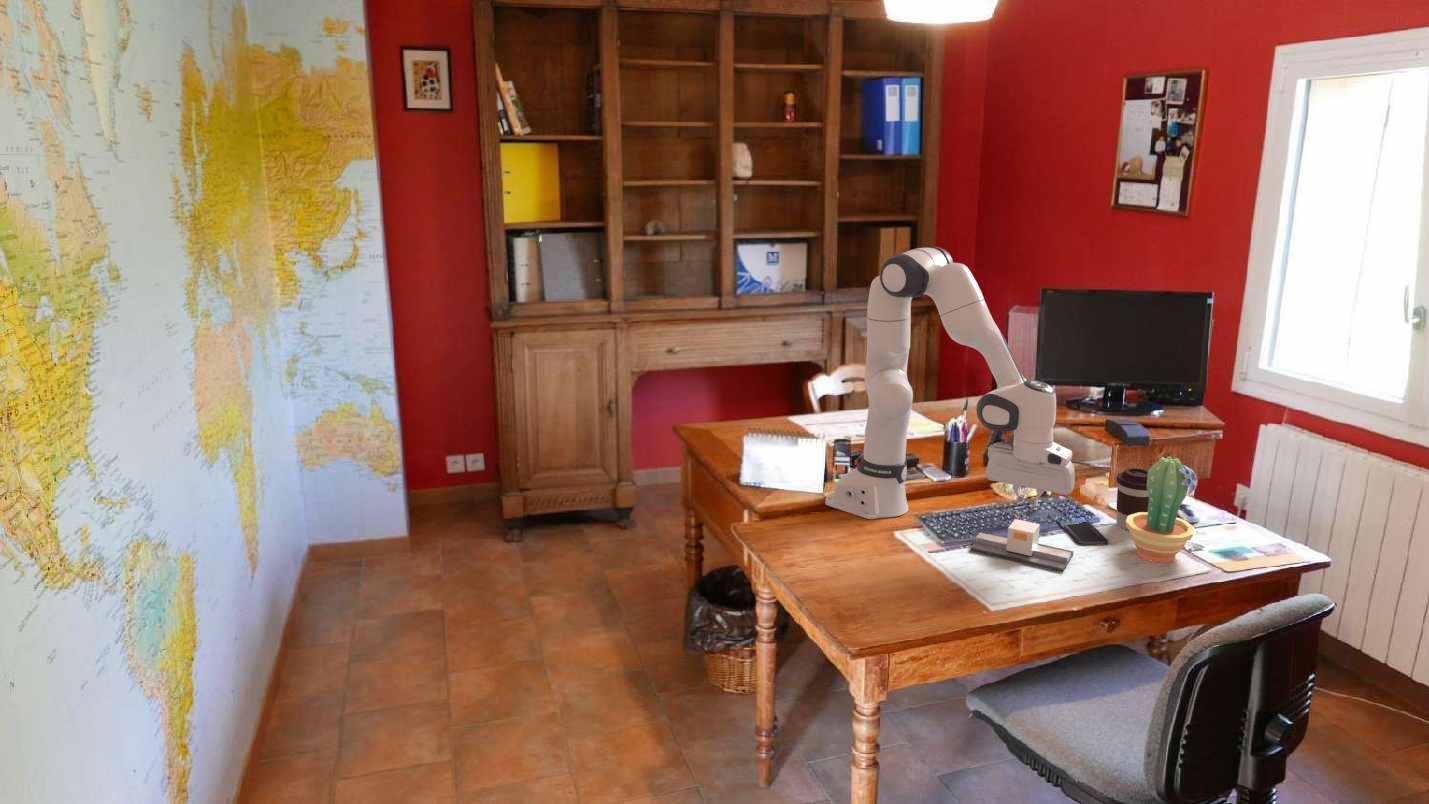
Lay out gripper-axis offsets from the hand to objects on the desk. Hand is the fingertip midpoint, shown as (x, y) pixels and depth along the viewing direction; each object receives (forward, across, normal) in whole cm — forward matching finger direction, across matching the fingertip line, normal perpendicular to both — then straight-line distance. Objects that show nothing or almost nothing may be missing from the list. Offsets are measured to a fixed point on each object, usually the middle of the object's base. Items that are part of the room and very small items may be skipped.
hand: (1026, 503), depth 234 cm
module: (+12, 0, 0) cm, 12 cm away
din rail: (+13, 0, 0) cm, 13 cm away
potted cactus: (+13, +28, +16) cm, 35 cm away
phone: (+14, +10, +20) cm, 27 cm away
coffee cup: (+13, +20, +32) cm, 40 cm away
